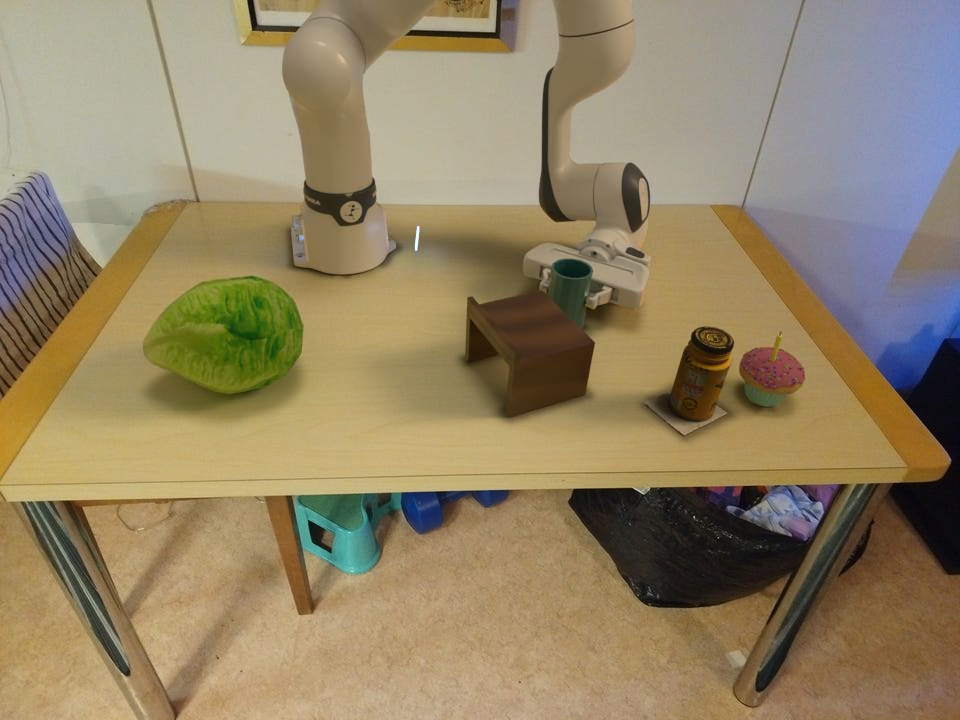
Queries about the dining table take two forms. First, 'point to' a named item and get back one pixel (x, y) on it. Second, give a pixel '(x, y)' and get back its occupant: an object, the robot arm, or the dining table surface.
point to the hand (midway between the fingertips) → (566, 296)
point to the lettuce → (228, 335)
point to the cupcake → (770, 374)
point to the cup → (571, 287)
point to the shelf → (531, 349)
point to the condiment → (697, 381)
